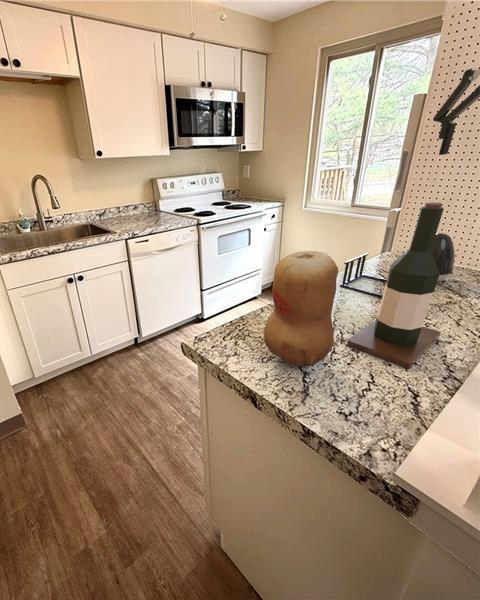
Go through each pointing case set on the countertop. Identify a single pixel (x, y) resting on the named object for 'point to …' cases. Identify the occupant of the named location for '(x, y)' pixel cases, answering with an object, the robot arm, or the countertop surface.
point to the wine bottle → (410, 284)
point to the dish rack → (358, 276)
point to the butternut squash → (302, 308)
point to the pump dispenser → (443, 254)
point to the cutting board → (393, 346)
